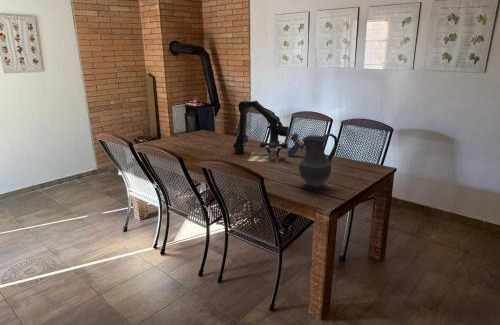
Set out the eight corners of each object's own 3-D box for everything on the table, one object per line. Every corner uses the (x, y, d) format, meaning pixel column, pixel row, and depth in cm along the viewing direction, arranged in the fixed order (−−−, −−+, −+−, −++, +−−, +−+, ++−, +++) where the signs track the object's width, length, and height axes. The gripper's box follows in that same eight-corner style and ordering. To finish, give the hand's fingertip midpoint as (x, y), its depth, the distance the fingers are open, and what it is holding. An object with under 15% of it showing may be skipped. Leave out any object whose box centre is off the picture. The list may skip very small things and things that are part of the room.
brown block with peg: (269, 160, 233) (269, 153, 232) (271, 156, 242) (271, 150, 241) (275, 161, 232) (275, 154, 231) (277, 157, 242) (277, 150, 240)
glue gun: (310, 172, 247) (323, 157, 241) (276, 146, 246) (289, 130, 240) (310, 169, 252) (324, 154, 246) (277, 143, 251) (290, 128, 245)
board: (247, 162, 235) (247, 157, 234) (251, 157, 248) (251, 152, 247) (277, 164, 231) (278, 159, 229) (280, 158, 244) (280, 153, 243)
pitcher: (294, 183, 198) (296, 131, 189) (327, 180, 202) (330, 130, 193) (305, 194, 181) (308, 139, 172) (341, 191, 186) (345, 137, 177)
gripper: (258, 137, 228) (258, 159, 233) (286, 138, 224) (285, 161, 229) (261, 133, 238) (261, 155, 243) (288, 134, 235) (287, 156, 240)
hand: (273, 157), depth 238 cm, fingers closed on brown block with peg, 4 cm apart
